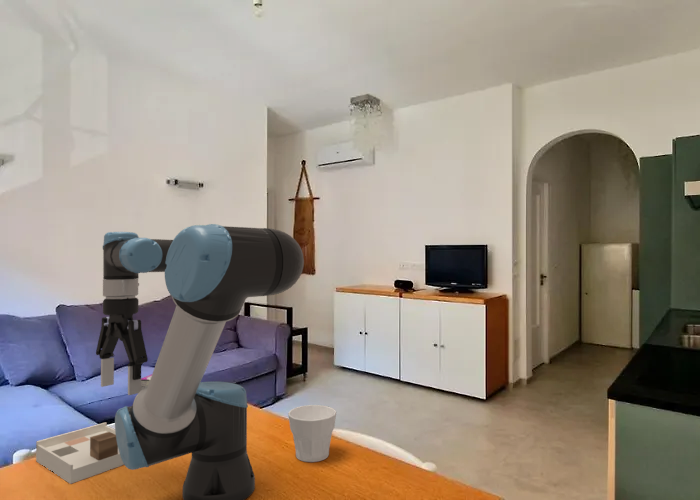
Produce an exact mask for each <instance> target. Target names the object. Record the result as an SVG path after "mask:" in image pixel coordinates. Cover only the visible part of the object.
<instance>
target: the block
mask: <svg viewBox="0 0 700 500" xmlns="http://www.w3.org/2000/svg"><path fill="white" fill-rule="evenodd" d="M117 454H118V445H117V440H116V435H115V434H113V433H111V432H106V433H103V434H100V435H96V436H93V437H90V456H91V457H93V458H95V459H97V460H102V459H105V458H108V457H111V456H114V455H117Z"/></svg>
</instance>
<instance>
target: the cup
mask: <svg viewBox="0 0 700 500" xmlns="http://www.w3.org/2000/svg"><path fill="white" fill-rule="evenodd" d="M287 415H288V421H289V422H288V423H289V429H290V431H291V433H292V437H293V442H294V449H295V457H296V459H298V460H299V461H300V462H301V461H302V462H305V463H318V462H321V461H324V460H326V459H327V458H328V457H329V455H330V447H331V441H332V435H333V434H332V433H333V432H334V429H335V426H336V425H335V424H336V417H337V411H336V409H334V408H333V407H330V406H327V405H322V404H320V405H319V404H310V405H309V404H308V405H307V404H306V405H301V406H297V407H294V408H292V409H290V410H289V411H288V413H287Z"/></svg>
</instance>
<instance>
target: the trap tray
mask: <svg viewBox="0 0 700 500" xmlns="http://www.w3.org/2000/svg"><path fill="white" fill-rule="evenodd" d="M107 423H108V422H102V423H98V424H95V425H91V426H87V427H83V428H80V429H76V430H73V431H68V432H65V433H61V434H58V435H54V436H51V437H47V438H44V439H39V440H37V441H36V442H35V446H36V451H35V454H36V455H35V460H36V461H35V462H36V463H38V464H39V465H41V466H42V465H43V467H44V466H45V467H46V469H47V468H48V469H47V470H49V471H50V470H51V471H50V472H52V471H53V472H54V473H53V472H52V473H53V474H55V475H56V474H57V475H56V476H58V477H59V476H60V477H59V478H60V479H62V480H64V481H65V482H67V483H68V484H69V485H70V484H74V483H76V482H80V481H82V480H85V479H86V480H87V479H88V478H90V477H94V476H97V475H99V474H102V473H104V472H107V471H110V469H111V470H114V469H115V468H118V467H119V468H120V467H122V466H125V465H124V463H123V461H122V459H121V456H120V453H119V449H118V454H117V455H114V456H111V457H108V458H105V459H102V460H97V459H95V458H93V457H91V456H90V437H93V436H96V435H100V434H103V433H106V432H111V433H113V434H115V435H116V433H115V428H113V427H110V426H108V424H107ZM45 467H44V468H45Z"/></svg>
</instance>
